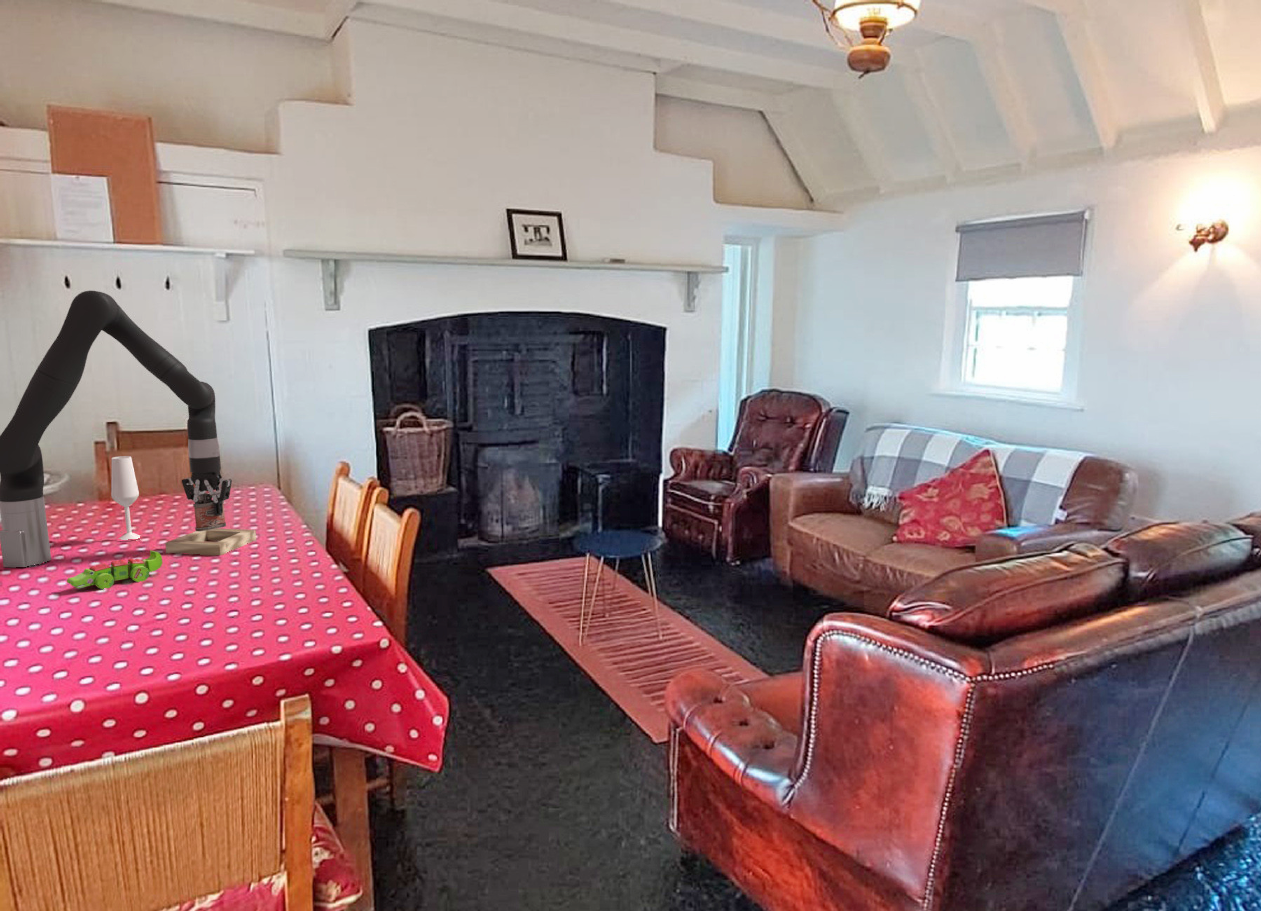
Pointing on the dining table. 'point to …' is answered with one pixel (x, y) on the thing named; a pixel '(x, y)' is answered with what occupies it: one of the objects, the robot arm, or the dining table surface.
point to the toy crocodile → (117, 572)
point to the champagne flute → (124, 489)
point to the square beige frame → (225, 538)
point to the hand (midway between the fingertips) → (209, 514)
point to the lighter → (207, 514)
